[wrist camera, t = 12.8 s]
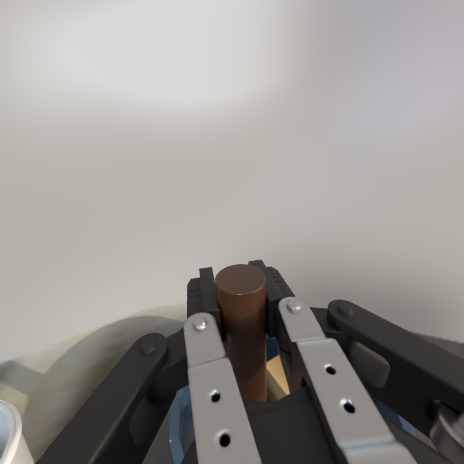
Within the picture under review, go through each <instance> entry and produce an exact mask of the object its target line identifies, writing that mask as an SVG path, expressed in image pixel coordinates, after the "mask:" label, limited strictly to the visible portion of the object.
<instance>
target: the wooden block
mask: <svg viewBox="0 0 464 464" xmlns="http://www.w3.org/2000/svg"><path fill="white" fill-rule="evenodd" d="M266 385H267V397H268V398H269V400H270V401H271V402H275V401H278V400H280V399H281V398H283V397H285V396H286V395H288V394H290V392H289V387H288V384H287V380H286V377H285V374H284V370H283V367H282V363H281V360H280V357H279V355H278V356H276V357H274V358H273V359H271V360H270V361H268V362H267V363H266Z"/></svg>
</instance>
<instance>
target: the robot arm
mask: <svg viewBox="0 0 464 464" xmlns="http://www.w3.org/2000/svg"><path fill="white" fill-rule="evenodd" d="M248 265H252V266H255V267H257V268H259V269H260V270H262V271H263V272H264V274H265V276H266V332H267V334H268V337H269V338H273V337H276V340H277V349H278V353H279V357H280V360H281V363H282V367H283V370H284V374H285V377H286V380H287V384H288V387H289V392H290V394H288V395H286V396H285V397H283V398H281V399H280V400H278V401H275V402H267V401H247V400H245V401H242V398H241V395H240V392H239V389H238V385H237V382H236V379H235V376H234V372H233V369H232V366H231V363H230V360H229V357H228V356H226V354H225V351H224V345H223V336H222V326H221V317H220V309H219V303H218V301H217V296H216V287H215V282H214V276H213V271H212V267H208V268H201V269H199V271H200V278H194V279H191V280H190V282H189V283H188V285H187V320H186V321H185V323H184V327H183V328H182V329H181V330H180V331H178V332H177V333H175V334H173V335H171V336H169V337H167V338H165V337H164V336H163V335H161V334H158V333H152V334H147V335H145V336H143V337H141V338H140V339H138V340H137V341H136V342H135V343H134V344H133V345H132V347H131V348H130V349H129V350H128V352H127V353H126V354H125V355H124V356H123V358H122V359H121V360H120V361H119V363H118V364H117V365H116V366H115V367H114V369H113V370H112V371H111V372H110V374H109V375H108V376H107V377H106V378H105V380H104V381H103V382H102V383H101V385H100V386H99V387H98V388H97V389H96V391H95V392H94V393H93V394H92V396H91V397H90V398H89V399H88V400H87V402H86V403H85V404H84V405H83V407H82V408H81V409H80V410H79V411H78V413H77V414H76V415H75V416H74V417H73V419H72V420H71V421H70V422H69V424H68V425H67V426H66V427H65V428H64V430H63V431H62V432H61V433H60V435H59V436H58V437H57V438H56V439H55V441H54V442H53V443H52V444H51V446H50V447H49V448H48V449H47V450H46V452H45V453H44V454H43V455H42V457H41V458H40V459H39V460H38V461H37V463H36V464H142V462H143V460H144V458H145V456H146V454H147V452H148V450H149V448H150V446H151V444H152V442H153V440H154V438H155V436H156V434H157V432H158V430H159V428H160V426H161V424H162V422H163V420H164V418H165V416H166V414H167V412H168V410H169V408H170V406H171V404H172V402H173V400H174V398H175V396H176V394H177V391H179V390H180V389H182V388H184V387H185V386H187V385H189V387H190V395H191V404H192V413H193V422H194V430H195V439H194V440H193V442H192V444H191V445H190V447H189V449H188V450H187V452H186V454H185V456H184V458H183V460H182V462H181V464H464V359H462V358H460V357H458V356H456V355H454V354H452V353H450V352H448V351H446V350H444V349H442V348H440V347H438V346H436V345H434V344H432V343H430V342H428V341H426V340H424V339H422V338H420V337H418V336H417V335H415V334H413V333H411V332H409V331H407V330H405V329H403V328H401V327H399V326H397V325H395V324H393V323H391V322H389V321H387V320H385V319H383V318H381V317H379V316H377V315H375V314H373V313H371V312H369V311H367V310H365V309H363V308H361V307H359V306H357V305H355V304H353V303H351V302H349V301H345V300H334V301H332V302H330V303H329V305H328V309H326V308H313V307H309V305H308V304H307V303H306V302H305V301H304V300H302V299H300V298H297V297H295V295H294V294H293V292H292V291H291V290H290V288H289V286H288V285H287V284H286V282H285V281H284V279H283V278H282V276H281V275H280V273H279V272H278V270H276V269H274V268H273V267H266V266H265V265H264V263H263V261H262V260H255V261H249V264H248ZM357 341H358V342H360V343H361V344H363V345H364V346H366V347H368V348H369V349H371V350H373V351H374V352H376V353H377V354H379V355H381V356H382V357H384V358H385V359H386V360H387V361H388V363H389V365H390V366H388V365H386V364H385V363H383V362H382V361H380V360H379V359H377V358H375V357H374V356H372V355H371V354H369V353H368V352H366V351H364V350H363V349H361V348H360V347H358V346H357V345H356V344H357ZM367 391H368V392H369V393H370V394H372V395H373V396H374V397H375V398H377V399H378V400H379V401H381V402H382V403H383V404H385V405H386V406H387V407H389V408H390V409H391V410H393V411H394V412H395V413H397V414H398V415H399V416H401V417H402V418H403V419H405V420H406V421H407V422H408V423H410V424H411V425H412V426H414V427H415V428H416V429H418V430H419V431H420V432H422V433H423V434H424V435H426V436H427V437H428V438H430V439H431V440H432V442H433V444H434V446H435V447H436V449H437V450H438V452H437V451H436V450H434V449H433V448H431V447H430V446H428V445H427V444H425V443H424V442H422V441H421V440H419V439H418V438H416V437H415V436H413V435H412V434H410V433H409V432H407V431H406V430H404V429H403V428H401V427H400V426H398V425H397V424H395V423H393V422H392V421H390V420H389V419H387V418H386V417H384V416H383V415H381V414H380V413H379V411H378V410H377V408H376V406H375V404H374V403H373V401H372V399H371V398H370V396H369V394H368V393H367Z"/></svg>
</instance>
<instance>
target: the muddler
mask: <svg viewBox="0 0 464 464" xmlns="http://www.w3.org/2000/svg"><path fill="white" fill-rule="evenodd" d="M215 287H216V296H217V301H218V303H219V309H220V317H221V326H222V336H223V345H224V351H225V354H226V356H228V357H229V360H230V363H231V366H232V369H233V372H234V376H235V379H236V382H237V385H238V389H239V392H240V395H241V398H242V401H245V400H247V401H267V385H266V276H265V274H264V272H263V271H262V270H260V269H259V268H257V267H255V266H252V265H244V264H238V265H232V266H229V267H226V268H224V269H222V270H221V271H220V272H219V273H218V274H217V275H216V278H215Z"/></svg>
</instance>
